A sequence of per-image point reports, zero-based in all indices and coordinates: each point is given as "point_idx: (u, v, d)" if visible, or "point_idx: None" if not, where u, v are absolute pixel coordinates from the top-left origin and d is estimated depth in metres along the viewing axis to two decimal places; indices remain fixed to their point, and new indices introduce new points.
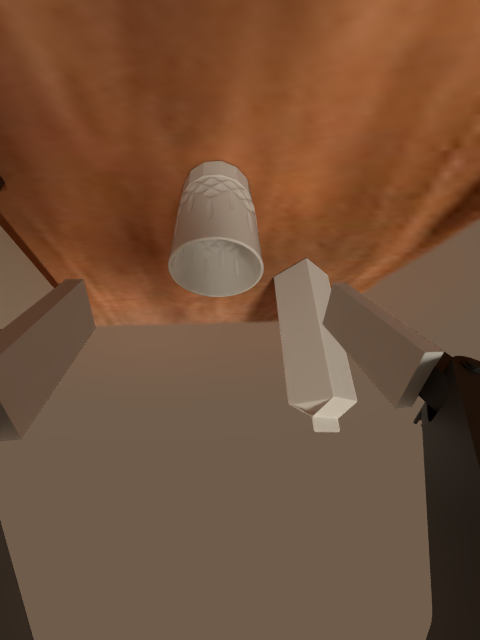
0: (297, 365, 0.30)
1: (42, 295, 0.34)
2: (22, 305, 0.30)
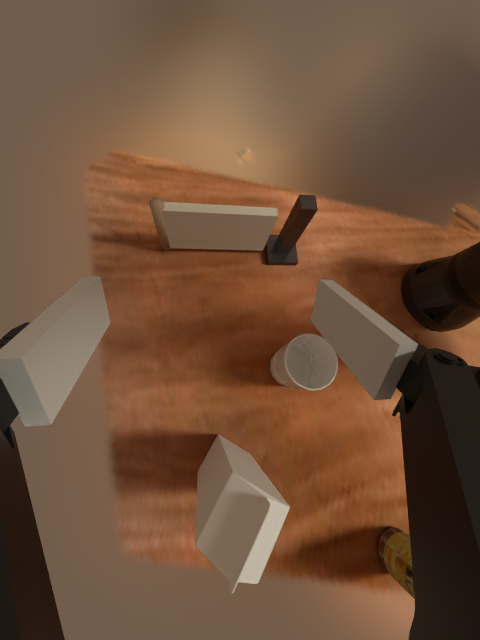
0: (244, 468, 0.26)
1: (193, 241, 0.44)
2: (209, 231, 0.41)
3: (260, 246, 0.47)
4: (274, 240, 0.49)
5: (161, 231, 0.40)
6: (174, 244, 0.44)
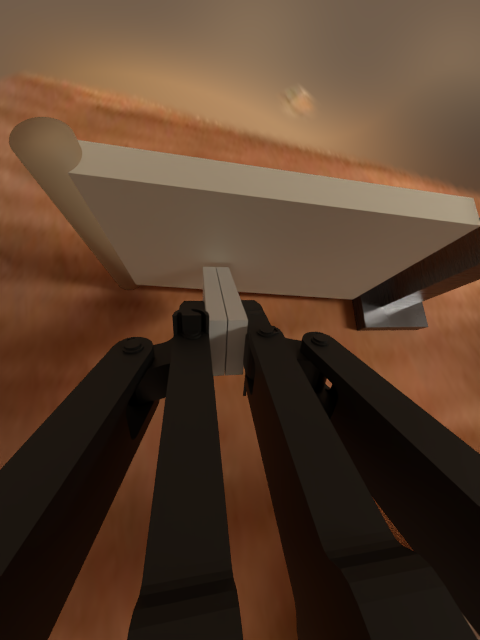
0: None
1: (193, 275, 0.17)
2: (240, 255, 0.14)
3: (352, 293, 0.19)
4: None
5: (94, 247, 0.13)
6: (144, 278, 0.17)
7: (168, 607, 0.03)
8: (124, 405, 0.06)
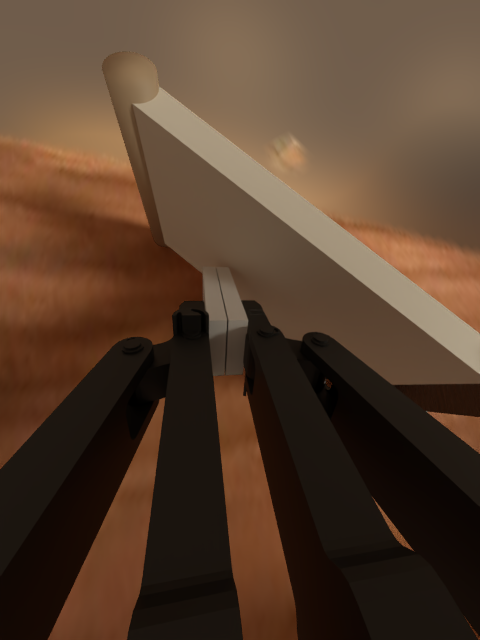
0: None
1: (207, 262, 0.17)
2: (246, 265, 0.14)
3: None
4: None
5: (138, 185, 0.14)
6: (171, 241, 0.18)
7: (168, 607, 0.03)
8: (124, 405, 0.06)
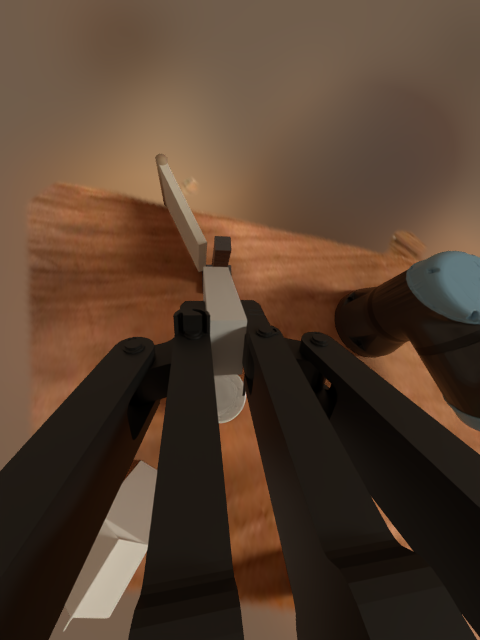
0: (128, 504, 0.28)
1: (172, 212, 0.51)
2: (176, 212, 0.47)
3: (196, 265, 0.50)
4: None
5: None
6: (166, 203, 0.53)
7: (169, 606, 0.03)
8: (125, 405, 0.06)
